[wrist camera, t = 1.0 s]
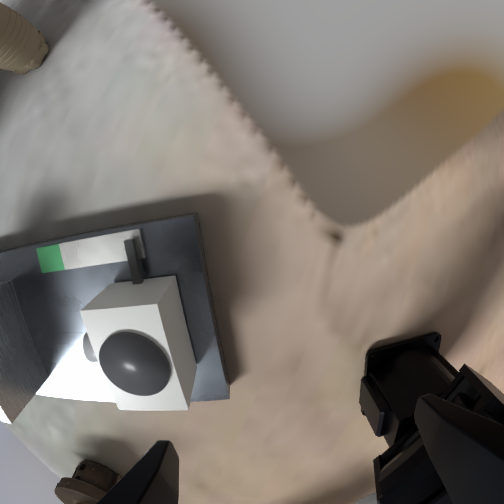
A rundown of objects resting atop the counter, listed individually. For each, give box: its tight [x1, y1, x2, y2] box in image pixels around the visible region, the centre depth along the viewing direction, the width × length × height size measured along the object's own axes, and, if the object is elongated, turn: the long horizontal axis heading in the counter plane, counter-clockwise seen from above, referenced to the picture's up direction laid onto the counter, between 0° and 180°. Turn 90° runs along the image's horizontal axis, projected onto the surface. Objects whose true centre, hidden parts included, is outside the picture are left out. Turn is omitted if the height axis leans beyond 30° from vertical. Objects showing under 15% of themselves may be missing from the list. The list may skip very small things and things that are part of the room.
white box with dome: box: [80, 238, 197, 411], centre depth 14 cm, size 6×8×4 cm, turn 7°
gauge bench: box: [0, 213, 230, 424], centre depth 15 cm, size 18×12×8 cm
